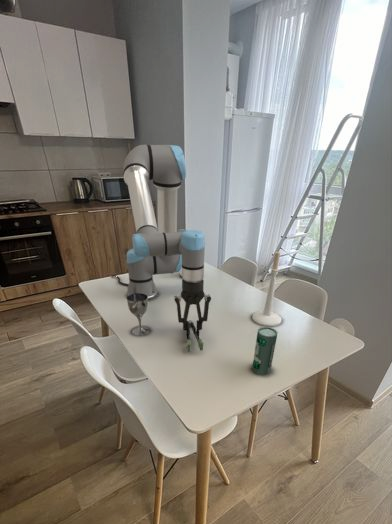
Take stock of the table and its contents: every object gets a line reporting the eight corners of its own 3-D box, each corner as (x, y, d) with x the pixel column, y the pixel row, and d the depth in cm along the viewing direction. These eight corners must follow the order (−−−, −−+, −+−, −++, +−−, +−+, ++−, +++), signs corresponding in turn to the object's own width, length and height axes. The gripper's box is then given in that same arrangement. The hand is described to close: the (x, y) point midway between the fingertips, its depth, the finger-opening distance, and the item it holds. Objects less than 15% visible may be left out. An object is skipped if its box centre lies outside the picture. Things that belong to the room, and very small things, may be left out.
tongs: (183, 325, 124) (182, 319, 122) (196, 325, 124) (196, 318, 122) (187, 351, 108) (187, 344, 106) (203, 350, 108) (203, 343, 107)
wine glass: (134, 337, 118) (130, 303, 110) (128, 328, 124) (124, 295, 116) (153, 333, 122) (150, 299, 113) (146, 324, 127) (143, 291, 119)
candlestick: (246, 319, 133) (254, 251, 116) (262, 310, 141) (272, 245, 124) (271, 329, 126) (284, 258, 109) (286, 318, 134) (300, 251, 117)
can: (253, 362, 106) (259, 325, 97) (271, 365, 104) (278, 328, 96) (251, 372, 101) (256, 334, 92) (269, 376, 99) (276, 338, 91)
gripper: (214, 274, 107) (211, 331, 120) (168, 275, 105) (170, 333, 118) (218, 282, 101) (215, 341, 113) (169, 283, 99) (171, 343, 112)
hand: (192, 336), depth 116 cm, fingers closed on tongs, 3 cm apart
